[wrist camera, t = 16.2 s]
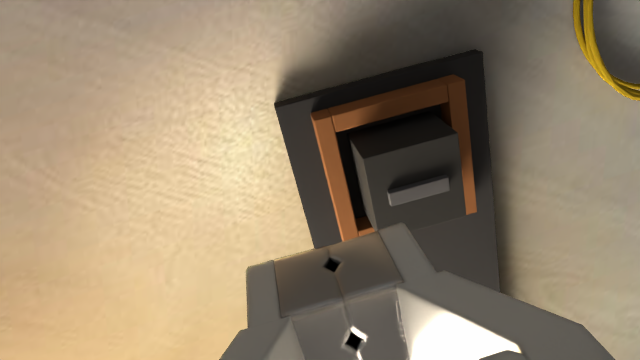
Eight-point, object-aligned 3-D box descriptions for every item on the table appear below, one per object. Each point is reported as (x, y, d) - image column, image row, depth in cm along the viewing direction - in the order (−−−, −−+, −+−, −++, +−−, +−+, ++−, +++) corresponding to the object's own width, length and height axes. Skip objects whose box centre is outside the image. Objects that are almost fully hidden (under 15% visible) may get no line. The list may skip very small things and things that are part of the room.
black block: (362, 207, 29) (381, 244, 25) (346, 132, 27) (364, 161, 23) (439, 185, 29) (470, 219, 25) (429, 110, 27) (461, 134, 23)
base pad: (273, 102, 26) (276, 115, 24) (474, 48, 27) (496, 55, 25) (372, 452, 40) (380, 481, 38) (504, 413, 41) (519, 439, 38)
